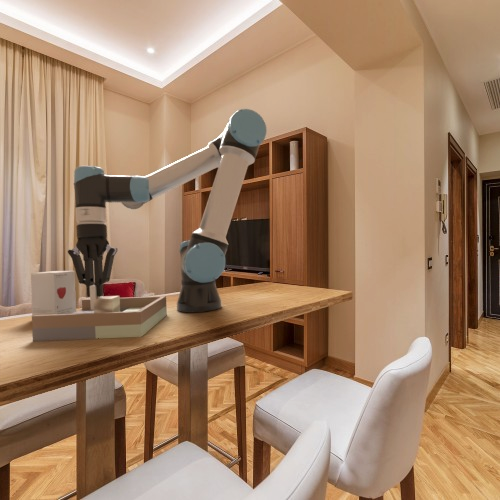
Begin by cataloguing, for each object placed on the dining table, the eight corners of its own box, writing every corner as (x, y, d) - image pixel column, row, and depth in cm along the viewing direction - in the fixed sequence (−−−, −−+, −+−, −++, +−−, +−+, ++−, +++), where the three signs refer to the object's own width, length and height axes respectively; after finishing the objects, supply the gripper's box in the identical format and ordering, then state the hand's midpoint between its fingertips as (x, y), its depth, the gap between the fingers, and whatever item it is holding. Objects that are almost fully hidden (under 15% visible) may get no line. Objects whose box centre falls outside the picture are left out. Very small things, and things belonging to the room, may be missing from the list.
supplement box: (55, 321, 97) (53, 272, 97) (31, 320, 99) (29, 273, 98) (77, 314, 106) (75, 270, 106) (54, 314, 108) (52, 270, 107)
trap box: (166, 314, 100) (166, 296, 99) (141, 336, 76) (140, 311, 75) (84, 318, 99) (83, 299, 99) (32, 341, 75) (31, 316, 75)
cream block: (120, 313, 90) (119, 295, 90) (112, 317, 85) (112, 298, 85) (102, 313, 90) (101, 296, 90) (94, 317, 85) (93, 299, 85)
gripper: (60, 223, 83) (64, 312, 84) (109, 221, 83) (113, 310, 84) (75, 225, 91) (79, 306, 91) (120, 223, 91) (124, 304, 91)
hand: (95, 308), depth 87 cm, fingers closed
